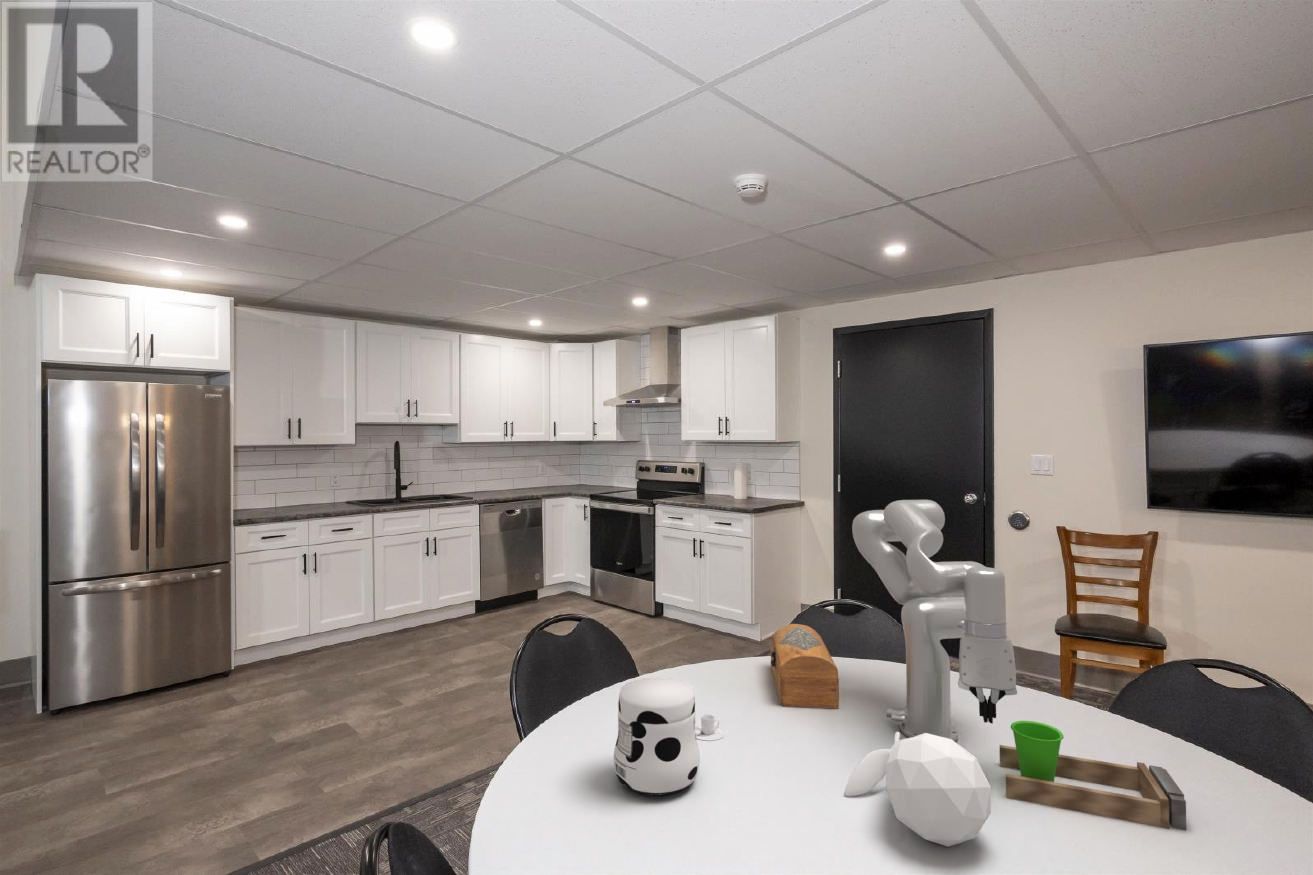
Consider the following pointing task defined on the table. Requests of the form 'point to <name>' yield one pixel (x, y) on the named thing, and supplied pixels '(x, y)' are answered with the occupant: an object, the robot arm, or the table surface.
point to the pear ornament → (929, 786)
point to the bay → (1154, 785)
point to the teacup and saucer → (708, 728)
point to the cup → (1037, 749)
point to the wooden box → (803, 668)
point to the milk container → (656, 736)
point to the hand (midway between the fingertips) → (987, 720)
